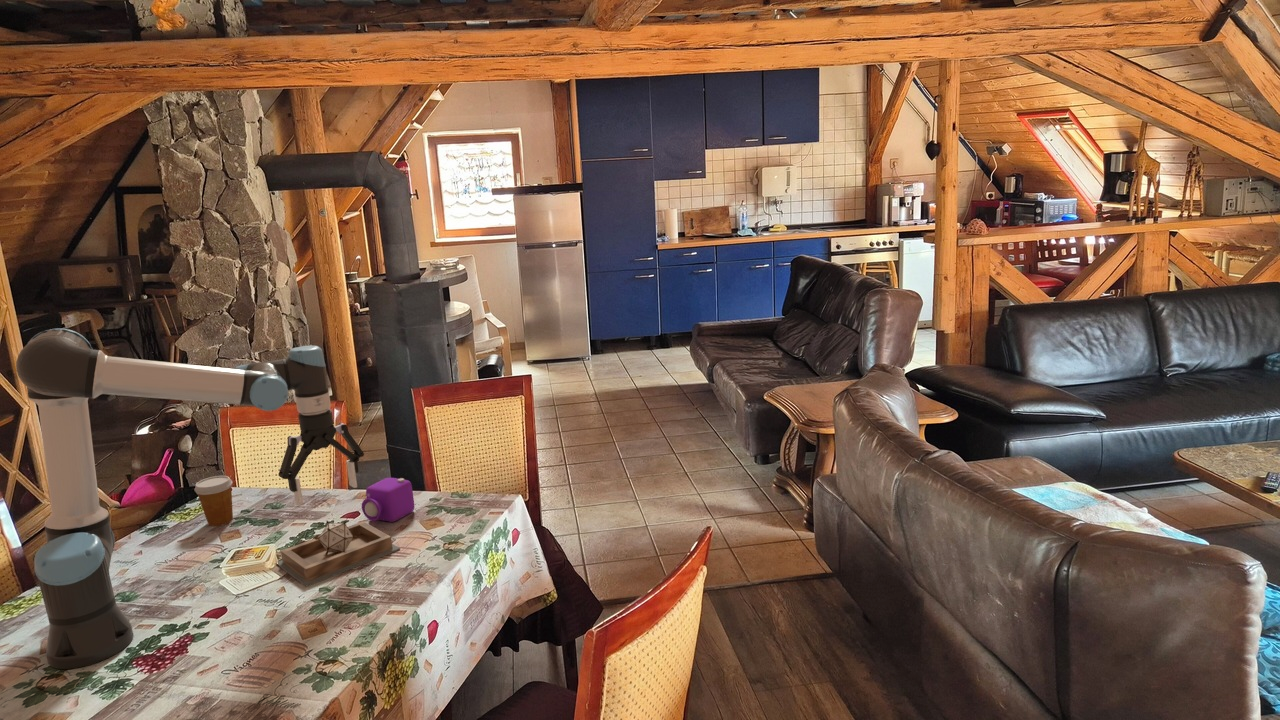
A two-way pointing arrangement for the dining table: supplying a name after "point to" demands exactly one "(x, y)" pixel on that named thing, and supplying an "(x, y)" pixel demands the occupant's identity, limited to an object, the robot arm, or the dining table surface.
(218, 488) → the disposable coffee cup
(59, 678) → the dining table surface
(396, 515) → the toy camera
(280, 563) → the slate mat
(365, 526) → the brown wooden tray
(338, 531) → the game die
